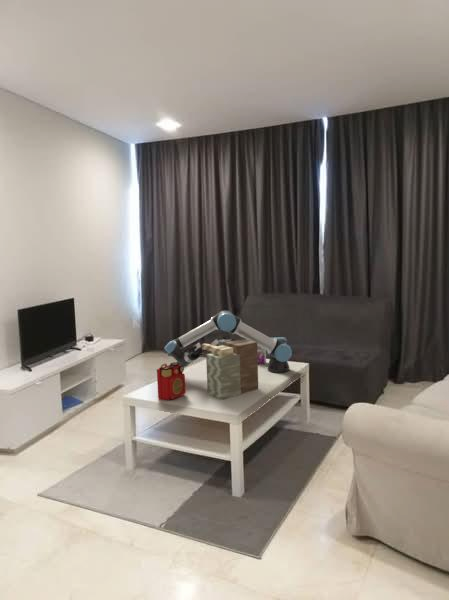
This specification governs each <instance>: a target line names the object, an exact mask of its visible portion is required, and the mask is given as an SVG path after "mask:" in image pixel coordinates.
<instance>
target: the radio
mask: <svg viewBox="0 0 449 600" xmlns="http://www.w3.org/2000/svg"><path fill="white" fill-rule="evenodd" d="M184 371H185V367H183V366H182V365H179V363H177V361H175V362H171V363H169V364H167V363H162V364H161V365H160V367H158V368H156V376H157V380H156V381H157V399H158V398H159V399H158V400H165V401H170V400H174V399H176V398H179V397H181V396H183V395H185V394H186V376H185V375H186V374H185V373H183V372H184Z"/></svg>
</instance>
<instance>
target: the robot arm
mask: <svg viewBox="0 0 449 600" xmlns="http://www.w3.org/2000/svg"><path fill="white" fill-rule="evenodd" d="M215 330H217V331H218V330H221V331H223V332H226V333H227V332H228V333H229V334H230V335H237V336H238V337H241V338H242V339H244V340H249V341H254V342H257V345H258V346H259V347H261V348H263V349H265V350H266V354H267V355H269V362H268V365H267V371H268V372H270V373H273V374H274V373H275V374H280V373H287V371H288V372H289V371H290V365H289V362H288V361H289V360H290V358H291V357H292V354H293V353H292V352H293V350H292V347H291V346H290V345H289V344H287V341H288V340H287V338H286V337H284V336H281V337H269V336H267V334H264V333H263V332H260V331H259V330H256V329H255V328H253V327H251V326H250V325H248V324H246V323H244V322H242V319H241V318H240V317H239V316H237V315H234V314H233V312H231V311H230V310H228V309H227V310H221V311H219V312H218V313H217V314H215V315H213V316H212V317H211V318H210V319H209V320H208V321H206V322H204V323H203V324H201V325H199V326H197V327H195V328H193V329H191V330H190V331H188V332H186V333H185V334H183V335H181V336H179V337H177V338H176V339H172V340H170V341H169V342H168V343H167V344H166V345H165V346H164V351H165V352H166V353H167V354H168V355H170V356H171V357H172V358H173V359H174V360H175V361H176V362H177V363H179V365H182V366H183V367H184V368H186V367H188V366H190V365H191V364H194V363H193V362H195V361H196V360H197V359H199V358H200V356H201V355H202V354H203V353H208V352H209V351H208V350H204V349H202V345H201V343H200V342H197V341H198V340H200V339H201V338H203V337H205V336H207V335H208V334H210V333H212V332H214V331H215ZM218 341H219V340H218V339H214V341H212V342H210V343H209V344H210V345H214V346H218V343H219V342H218ZM194 342H197V343H196V344H195V345H193V346H191V347H189V348H187V351H186V352H185V351H184V350H183V349H184V348H185V347H187V346H189V345H190V344H192V343H194Z"/></svg>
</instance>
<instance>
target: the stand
mask: <svg viewBox="0 0 449 600" xmlns="http://www.w3.org/2000/svg"><path fill="white" fill-rule="evenodd" d="M234 340H235V341H229V342H225V346H228V347H232V348H233V355H229V356H225V357H221V356H217V355H214V354H212V352H211V353H207V354H205V357H206V363H205V364H206V386H207V388H206V389H207V395H209V396H212V397H215V398H218V399H219V400H225V399H229V398H232V397H235V396H240V395H243V394H247V393H249V392H253V391H257V390H259V364H258V352H257V342H254V341H249V340H246V339H245V338H241V339H240V338H239V339H234Z"/></svg>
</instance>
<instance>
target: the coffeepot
mask: <svg viewBox="0 0 449 600" xmlns="http://www.w3.org/2000/svg"><path fill="white" fill-rule="evenodd" d="M235 340H236V339H234V338H232V339H226V337H225V336H223V339H219V340H218V342H219V343H218V344H217V346H222V345H223V346H225V342H229V341H235Z"/></svg>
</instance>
